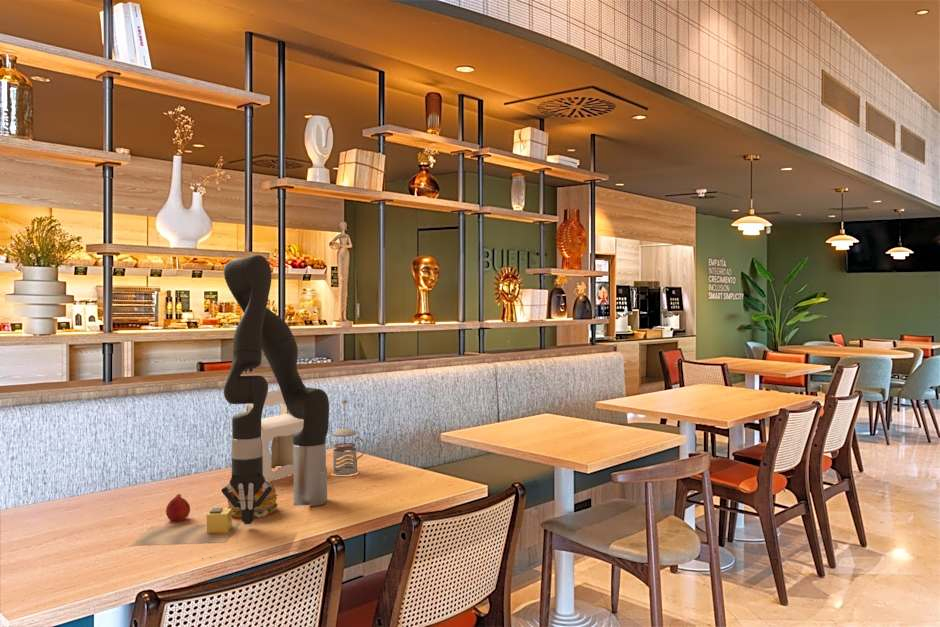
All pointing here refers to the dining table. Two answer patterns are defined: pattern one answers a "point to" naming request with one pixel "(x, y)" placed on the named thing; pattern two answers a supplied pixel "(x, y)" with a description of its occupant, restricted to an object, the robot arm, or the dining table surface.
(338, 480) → the dining table surface
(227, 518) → the yellow cube
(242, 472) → the robot arm
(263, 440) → the gable box
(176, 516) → the onion
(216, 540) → the board
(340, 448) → the french press
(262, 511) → the burger
